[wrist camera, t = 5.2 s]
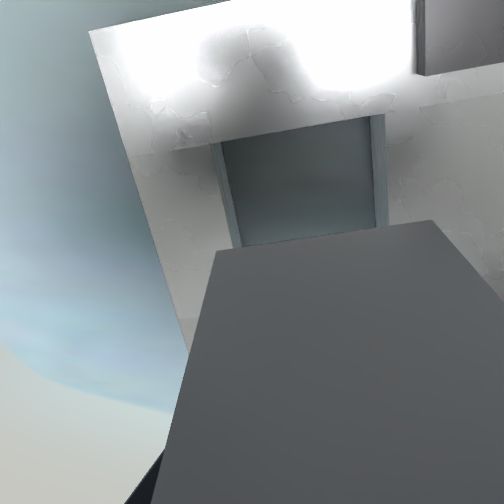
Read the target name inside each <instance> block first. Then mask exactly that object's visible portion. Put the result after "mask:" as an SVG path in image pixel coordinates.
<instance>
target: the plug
mask: <svg viewBox="0 0 504 504" xmlns="http://www.w3.org/2000/svg"><path fill="white" fill-rule="evenodd" d="M151 504H504V302H503V300H502V299H501V298H500V297H499V296H498V295H497V294H496V292H495V291H494V290H493V289H492V288H491V287H490V286H489V284H488V283H487V282H486V281H485V280H484V279H483V278H482V276H481V275H480V274H479V273H478V272H477V271H476V270H475V268H474V267H473V266H472V265H471V264H470V263H469V262H468V260H467V259H466V258H465V257H464V256H463V255H462V254H461V252H460V251H459V250H458V249H457V248H456V247H455V246H454V244H453V243H452V242H451V241H450V240H449V239H448V237H447V236H446V235H445V234H444V233H443V232H442V231H441V229H440V228H439V227H438V226H437V225H436V224H435V223H434V221H433V220H425V221H418V222H411V223H404V224H397V225H390V226H384V227H377V228H370V229H363V230H356V231H349V232H342V233H335V234H328V235H322V236H315V237H308V238H301V239H294V240H287V241H280V242H273V243H266V244H260V245H253V246H246V247H239V248H232V249H225V250H218V251H216V253H215V257H214V261H213V265H212V269H211V273H210V276H209V280H208V284H207V288H206V292H205V296H204V300H203V303H202V307H201V311H200V315H199V319H198V323H197V327H196V330H195V334H194V338H193V342H192V346H191V350H190V354H189V358H188V361H187V365H186V369H185V373H184V377H183V381H182V385H181V388H180V392H179V396H178V400H177V404H176V408H175V412H174V416H173V419H172V423H171V427H170V431H169V435H168V439H167V443H166V446H165V450H164V454H163V458H162V462H161V466H160V470H159V474H158V477H157V481H156V485H155V489H154V493H153V497H152V501H151Z"/></svg>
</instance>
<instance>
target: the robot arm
mask: <svg viewBox="0 0 504 504" xmlns="http://www.w3.org/2000/svg"><path fill="white" fill-rule="evenodd" d="M164 450H165V449H164ZM164 450H163V452H162V453H161V454H160V456H159V457H158V458H157V460H156V461H155V463H154V464H153V465H152V467H151V468H150V469H149V471H148V472H147V473H146V475H145V476H144V478H143V479H142V480H141V482H140V483H139V484H138V486H137V487H136V489H135V490H134V491H133V492H132V494H131V495H130V497H129V498H128V499H127V501H126V502H125V503H124V504H151V501H152V497H153V493H154V489H155V485H156V481H157V477H158V474H159V470H160V466H161V462H162V458H163V454H164Z"/></svg>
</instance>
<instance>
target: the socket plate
mask: <svg viewBox="0 0 504 504" xmlns="http://www.w3.org/2000/svg"><path fill="white" fill-rule="evenodd" d="M88 32H89V35H90V38H91V41H92V45H93V48H94V51H95V54H96V58H97V61H98V64H99V67H100V70H101V74H102V77H103V80H104V83H105V86H106V90H107V93H108V96H109V99H110V103H111V106H112V109H113V112H114V115H115V119H116V122H117V125H118V128H119V131H120V135H121V138H122V141H123V144H124V148H125V151H126V154H127V157H128V160H129V164H130V167H131V170H132V173H133V176H134V180H135V183H136V186H137V189H138V193H139V196H140V199H141V202H142V205H143V209H144V212H145V215H146V218H147V221H148V225H149V228H150V231H151V234H152V238H153V241H154V244H155V247H156V250H157V254H158V257H159V260H160V263H161V266H162V270H163V273H164V276H165V279H166V282H167V286H168V289H169V292H170V295H171V299H172V302H173V305H174V308H175V311H176V315H177V318H178V321H179V324H180V327H181V331H182V334H183V337H184V340H185V344H186V347H187V350H188V353H189V354H190V350H191V346H192V342H193V338H194V334H195V330H196V327H197V323H198V319H199V315H200V311H201V307H202V303H203V300H204V296H205V292H206V288H207V284H208V280H209V276H210V273H211V269H212V265H213V261H214V257H215V253H216V251H218V250H225V249H232V248H239V247H243V246H242V241H241V237H240V232H239V227H238V222H237V218H236V213H235V208H234V203H233V199H232V194H231V189H230V184H229V180H228V175H227V170H226V165H225V161H224V156H223V151H222V147H221V142H223V141H229V140H235V139H240V138H246V137H252V136H257V135H263V134H269V133H275V132H280V131H286V130H292V129H297V128H303V127H309V126H315V125H320V124H326V123H332V122H337V121H343V120H349V119H355V118H360V117H366V116H370V131H371V148H372V166H373V184H374V201H375V219H376V228H377V227H384V226H390V225H397V224H404V223H411V222H418V221H425V220H433V221H434V223H435V224H436V225H437V226H438V227H439V228H440V229H441V231H442V232H443V233H444V234H445V235H446V236H447V237H448V239H449V240H450V241H451V242H452V243H453V244H454V246H455V247H456V248H457V249H458V250H459V251H460V252H461V254H462V255H463V256H464V257H465V258H466V259H467V260H468V262H469V263H470V264H471V265H472V266H473V267H474V268H475V270H476V271H477V272H478V273H479V274H480V275H481V276H482V278H483V279H484V280H485V281H486V282H487V283H488V284H489V286H490V287H491V288H492V289H493V290H494V291H495V292H496V294H497V295H498V296H499V297H500V298H501V299H502V300H503V302H504V0H233V1H228V2H223V3H219V4H214V5H209V6H204V7H200V8H195V9H190V10H186V11H181V12H176V13H172V14H167V15H162V16H157V17H153V18H148V19H143V20H139V21H134V22H129V23H125V24H120V25H115V26H110V27H106V28H101V29H96V30H92V31H88Z"/></svg>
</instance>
